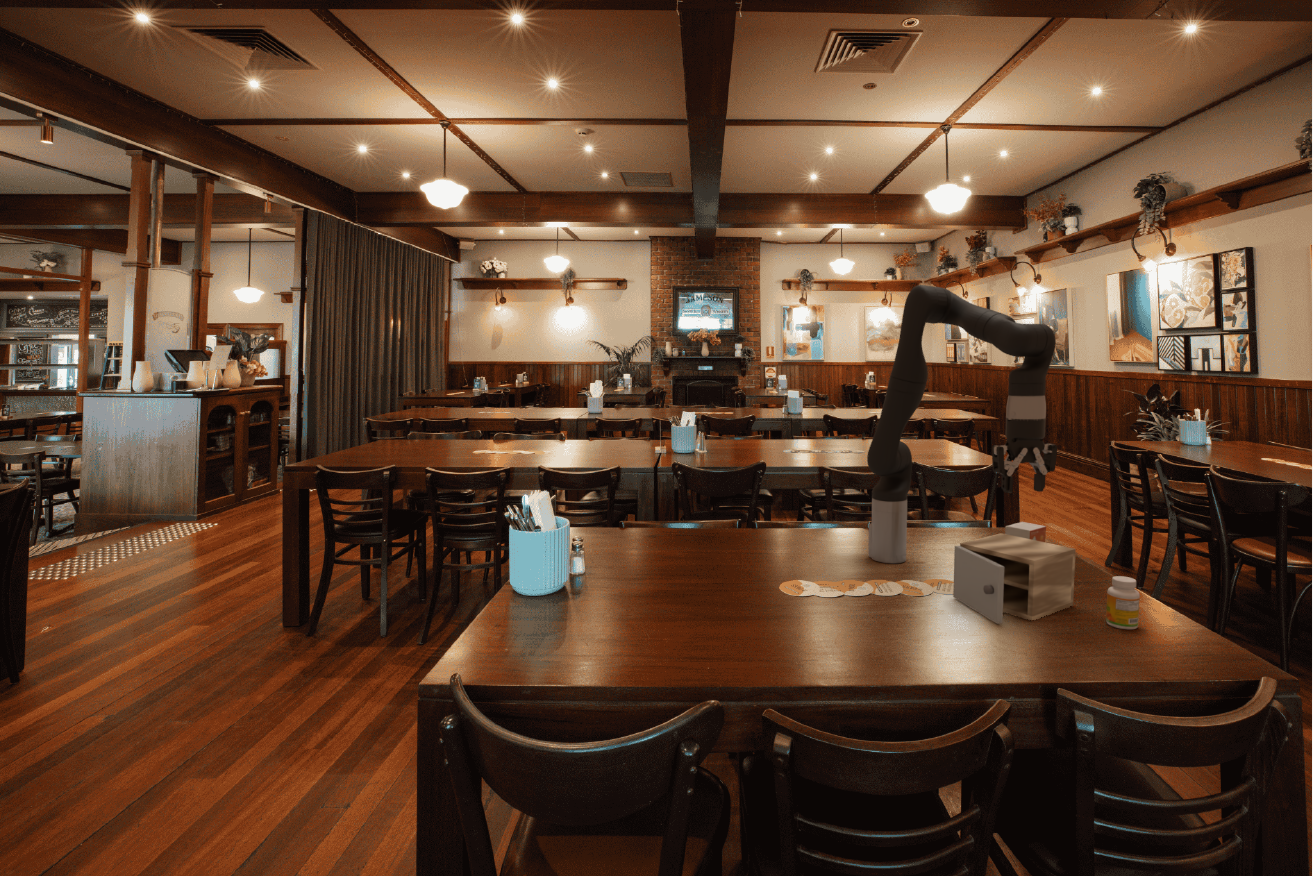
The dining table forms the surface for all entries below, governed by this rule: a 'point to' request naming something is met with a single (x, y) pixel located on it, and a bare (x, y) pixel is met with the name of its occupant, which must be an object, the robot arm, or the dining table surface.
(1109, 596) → the supplement bottle
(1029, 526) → the small box
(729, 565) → the dining table surface
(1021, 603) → the cabinet
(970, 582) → the door
